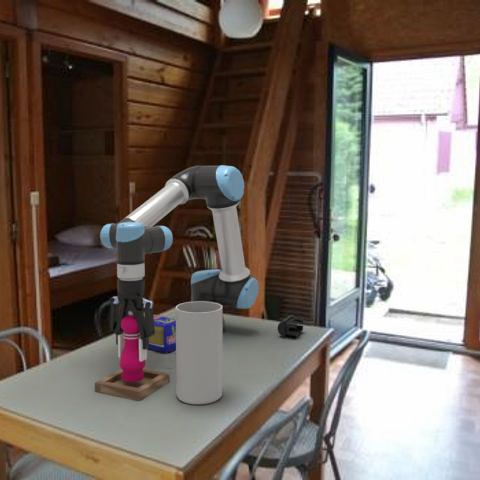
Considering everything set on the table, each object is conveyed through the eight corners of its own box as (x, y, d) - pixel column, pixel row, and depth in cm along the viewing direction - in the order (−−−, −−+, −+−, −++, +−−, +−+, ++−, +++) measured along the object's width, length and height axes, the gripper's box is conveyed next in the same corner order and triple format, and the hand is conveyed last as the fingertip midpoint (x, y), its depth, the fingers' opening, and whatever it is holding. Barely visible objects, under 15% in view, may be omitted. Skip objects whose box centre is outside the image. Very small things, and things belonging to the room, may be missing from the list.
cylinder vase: (179, 386, 156) (179, 301, 153) (223, 387, 156) (223, 301, 153) (173, 405, 144) (172, 312, 141) (220, 406, 144) (220, 313, 141)
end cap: (285, 330, 212) (285, 313, 211) (303, 333, 209) (303, 315, 208) (277, 338, 203) (277, 320, 202) (295, 340, 200) (295, 322, 199)
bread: (165, 355, 183) (164, 325, 182) (115, 341, 198) (115, 313, 196) (185, 347, 191) (185, 319, 190) (136, 334, 206) (136, 308, 205)
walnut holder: (127, 373, 166) (127, 365, 166) (169, 381, 160) (169, 373, 160) (94, 391, 153) (94, 382, 152) (139, 401, 147) (139, 392, 146)
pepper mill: (136, 371, 161) (135, 305, 159) (150, 378, 156) (149, 309, 154) (115, 377, 156) (113, 309, 154) (129, 385, 151) (127, 314, 148)
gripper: (94, 277, 153) (96, 357, 156) (152, 283, 145) (154, 367, 148) (111, 272, 160) (113, 349, 163) (168, 278, 152) (168, 359, 155)
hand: (132, 357), depth 155 cm, fingers closed on pepper mill, 6 cm apart
